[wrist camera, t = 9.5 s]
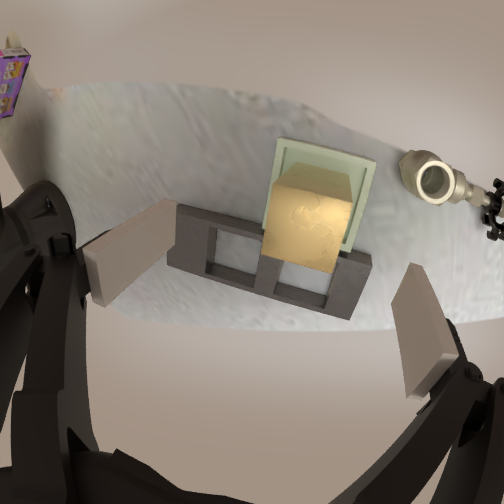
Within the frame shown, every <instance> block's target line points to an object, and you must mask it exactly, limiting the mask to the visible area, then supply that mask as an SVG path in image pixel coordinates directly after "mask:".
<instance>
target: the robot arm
mask: <svg viewBox="0 0 504 504" xmlns="http://www.w3.org/2000/svg"><path fill="white" fill-rule="evenodd" d="M176 204H177V201H172V200H168V199H164V200H162V201H161V202H159V203H157V204H155V205H153V206H152V207H150V208H148V209H146V210H144V211H143V212H141V213H139V214H137V215H136V216H134V217H132V218H131V219H129V220H127V221H125V222H124V223H122V224H120V225H119V226H117V227H115V228H114V229H111V230H108V231H105V232H103V233H102V234H100V235H98V237H95V238H94V239H93V240H90V241H89V242H87V243H86V244H84V245H82V246H81V247H79V248H78V249H76V246H75V228H74V223H73V219H72V215H71V212H70V209H69V207H68V205H67V202H66V200H65V199H64V197H63V195H62V194H61V192H60V191H59V189H58V188H57V187H56V186H55V185H54V184H52V183H51V182H49V181H40V182H38V183H35V184H33V185H31V186H30V187H28V188H27V189H26V190H25V191H24V192H23V193H22V194H21V195H20V196H19V197H18V198H17V199H16V200H15V201H14V202H12V203H11V204H10V205H9V206H7V207H5V208H3V209H2V202H1V196H0V433H1V430H2V427H3V424H4V420H5V417H6V413H7V410H8V406H9V402H10V399H11V396H12V393H13V390H14V387H15V384H16V381H17V378H18V375H19V373H20V370H21V367H22V364H23V361H24V359H25V356H26V354H27V356H26V365H25V373H24V382H23V389H22V390H21V391H15V392H14V394H13V398H12V408H11V459H12V466H10V467H2V468H0V504H253V503H249V502H245V501H241V500H238V499H234V498H230V497H227V496H222V495H212V494H203V493H197V492H190V491H184V490H181V489H179V488H178V487H176V486H175V485H173V484H172V483H171V482H169V481H168V480H166V479H165V478H164V477H163V476H161V475H160V474H159V473H157V472H156V471H155V470H153V469H152V468H151V467H150V466H148V465H146V464H144V463H142V462H140V461H138V460H137V459H135V458H133V457H131V456H129V455H127V454H125V453H124V452H122V451H120V450H118V449H116V450H115V451H114V453H113V454H112V453H107V452H101V451H99V448H98V445H97V442H96V440H95V437H94V434H93V431H92V424H91V417H90V409H89V398H88V386H87V372H86V371H87V370H86V307H87V301H86V297H85V296H86V295H87V294H88V293H89V292H90V291H91V296H92V300H93V302H94V303H96V304H98V305H100V306H102V307H106V306H107V305H108V304H109V303H111V302H112V301H113V300H114V299H115V298H116V297H117V296H118V295H119V294H120V293H121V292H122V291H123V290H125V289H126V288H127V287H128V286H129V285H130V284H131V283H132V282H133V281H134V280H135V279H137V278H138V277H139V276H140V275H141V274H142V273H143V272H144V271H145V270H147V269H148V268H149V267H150V266H151V265H152V264H153V263H154V262H156V261H157V260H158V259H159V258H160V257H161V256H162V255H164V254H165V253H166V252H167V251H168V250H169V249H171V248H172V247H173V246H174V245H175V228H176ZM26 286H27V290H28V292H27V293H25V287H26ZM391 306H392V310H393V315H394V320H395V325H396V331H397V336H398V342H399V348H400V353H401V360H402V367H403V374H404V382H405V391H406V399H412V400H422V399H423V398H424V397H425V396H426V395H427V394H428V392H429V393H430V400H429V401H428V402H427V403H426V405H424V407H423V408H422V409H421V410H419V411H418V413H417V416H416V417H415V419H414V420H413V422H412V423H411V424H410V425H409V426H408V427H407V429H406V430H405V431H404V432H403V433H402V434H401V435H400V437H399V438H398V439H397V440H396V441H395V443H394V444H392V446H391V447H390V448H389V449H388V450H387V451H386V452H385V453H384V454H383V455H382V456H381V457H380V458H379V459H378V460H377V461H376V462H375V463H374V464H373V466H371V467H370V468H369V469H368V470H367V471H366V472H365V473H364V474H363V475H362V476H361V477H360V478H358V479H357V480H356V481H355V482H354V483H353V484H352V485H351V486H350V487H348V488H347V489H346V490H345V491H344V492H342V493H341V494H340V495H339V496H337V497H336V498H335V499H334V500H332V501H331V502H330V503H329V504H411V502H412V501H413V500H414V499H415V498H416V496H417V495H418V494H419V493H420V491H421V490H422V489H423V487H424V486H425V485H426V483H427V482H428V481H429V479H430V478H431V476H432V475H433V473H434V472H435V471H436V469H437V468H438V466H439V465H440V463H441V462H442V460H443V459H444V457H445V455H446V454H447V452H448V450H449V449H450V447H451V446H452V447H451V450H450V453H449V456H448V459H447V462H446V465H445V468H444V471H443V473H442V476H441V479H440V481H439V483H438V486H437V488H436V491H435V493H434V495H433V498H432V500H431V502H430V504H501V501H502V498H503V494H504V378H503V377H502V378H498V379H497V380H496V382H495V383H494V384H493V385H492V384H490V383H488V382H486V381H484V380H483V375H482V372H481V371H480V369H479V368H478V367H477V366H476V365H475V364H473V363H471V362H468V361H467V357H466V355H465V352H464V349H463V347H462V344H461V342H460V339H459V337H458V333H457V331H456V328H455V326H454V325H453V324H452V322H451V321H450V320H449V319H447V318H445V316H444V313H443V311H442V309H441V306H440V304H439V302H438V299H437V297H436V295H435V292H434V290H433V288H432V286H431V284H430V282H429V279H428V277H427V275H426V273H425V271H424V269H423V267H422V266H420V265H417V264H414V263H411V262H410V264H409V266H408V269H407V271H406V273H405V275H404V278H403V280H402V282H401V284H400V286H399V288H398V290H397V293H396V295H395V297H394V299H393V301H392V303H391Z"/></svg>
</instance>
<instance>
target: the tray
mask: <svg viewBox="0 0 504 504" xmlns="http://www.w3.org/2000/svg"><path fill="white" fill-rule="evenodd" d="M296 162H300V163H304V164H309V165H313V166H317V167H321V168H325V169H329V170H333V171H337V172H340V173H344V174H348V175H349V180H350V186H351V192H352V199H353V206H352V210H351V213H350V217H349V220H348V224H347V227H346V230H345V234H344V237H343V240H342V244H341V247H340V250H342V251H346V252H349V253H350V252H351V249H352V246H353V243H354V240H355V237H356V234H357V231H358V228H359V224H360V221H361V218H362V215H363V211H364V208H365V205H366V201H367V198H368V194H369V191H370V187H371V183H372V180H373V176H374V172H375V168H376V164H377V163H376V162H375V161H374V160H372V159H369V158H365V157H362V156H359V155H355V154H352V153H348V152H344V151H341V150H337V149H333V148H329V147H325V146H321V145H317V144H313V143H309V142H304V141H300V140H295V139H291V138H286V137H279V138H278V141H277V146H276V152H275V157H274V163H273V169H272V174H271V180H270V186H269V191H268V197H267V202H266V208H265V213H264V219H263V224H262V228H263V229H265V226H266V221H267V215H268V209H269V204H270V198H271V192H272V187H273V183H274V182H275V181H276V180H277V179H278V178H279V177H280V176H282V175H283V174H284V173H285V172H286V171H287V170H288V169H289V168H291V167H292V166H293V165H294V164H295V163H296Z"/></svg>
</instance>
